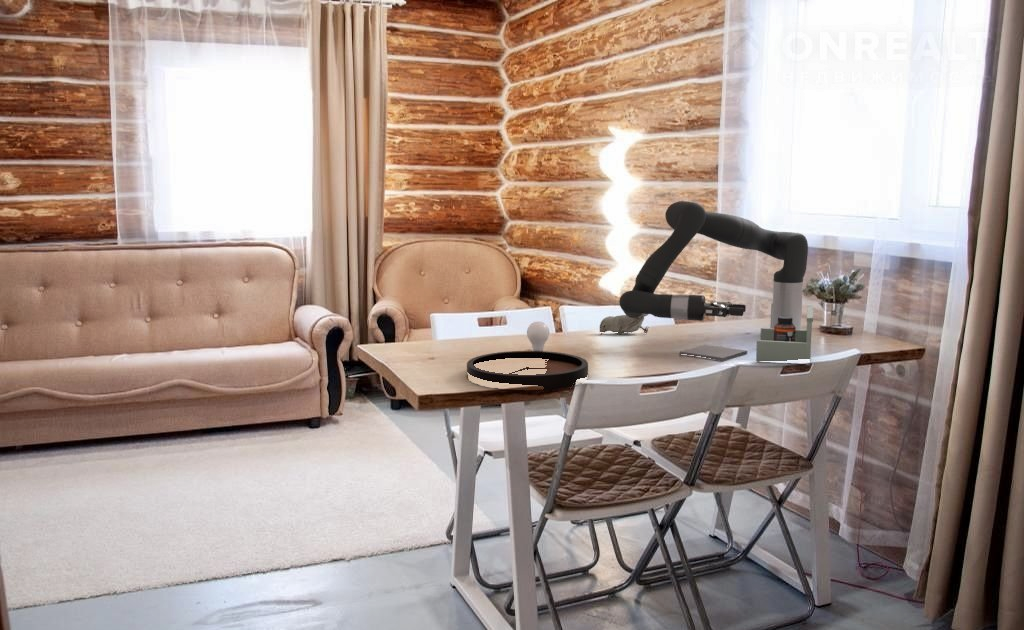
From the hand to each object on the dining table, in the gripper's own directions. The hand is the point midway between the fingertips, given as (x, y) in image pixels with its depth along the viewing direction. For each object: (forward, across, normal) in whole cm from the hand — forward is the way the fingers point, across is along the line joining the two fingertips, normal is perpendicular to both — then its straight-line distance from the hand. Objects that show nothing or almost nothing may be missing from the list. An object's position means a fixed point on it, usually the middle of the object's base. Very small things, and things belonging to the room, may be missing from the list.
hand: (744, 310), depth 248 cm
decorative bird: (-40, +22, +14) cm, 47 cm away
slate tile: (-8, -4, +13) cm, 16 cm away
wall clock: (-51, -47, +15) cm, 71 cm away
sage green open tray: (+12, 0, +13) cm, 17 cm away
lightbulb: (-54, -26, +14) cm, 62 cm away
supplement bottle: (+12, 0, +13) cm, 17 cm away
